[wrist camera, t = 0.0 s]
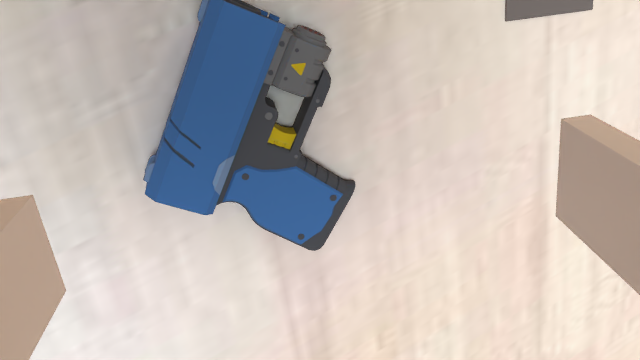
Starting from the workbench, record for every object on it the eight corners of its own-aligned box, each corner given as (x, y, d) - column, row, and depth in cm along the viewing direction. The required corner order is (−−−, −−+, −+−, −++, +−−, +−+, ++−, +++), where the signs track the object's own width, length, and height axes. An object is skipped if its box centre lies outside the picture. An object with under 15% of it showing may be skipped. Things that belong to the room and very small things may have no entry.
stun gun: (417, 76, 40) (206, -8, 35) (328, 261, 45) (134, 210, 40) (398, 62, 43) (205, -16, 38) (318, 234, 48) (139, 185, 43)
